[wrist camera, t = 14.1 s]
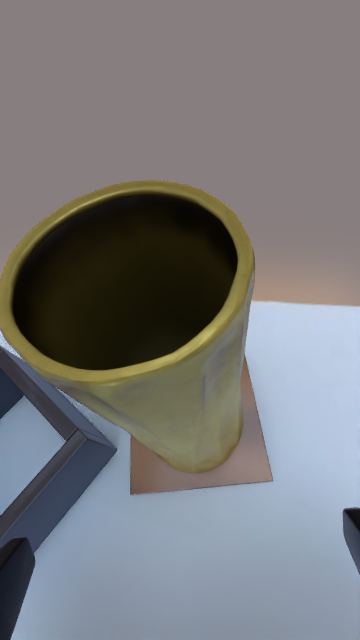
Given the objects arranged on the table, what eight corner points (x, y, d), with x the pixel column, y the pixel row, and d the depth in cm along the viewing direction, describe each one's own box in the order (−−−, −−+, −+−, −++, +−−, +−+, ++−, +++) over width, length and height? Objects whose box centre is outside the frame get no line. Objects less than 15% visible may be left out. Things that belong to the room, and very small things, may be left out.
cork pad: (272, 480, 16) (273, 480, 15) (132, 495, 16) (130, 495, 16) (243, 350, 20) (243, 348, 20) (132, 366, 21) (131, 363, 20)
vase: (226, 491, 15) (224, 489, 3) (129, 448, 17) (-99, 348, 5) (253, 387, 18) (307, 178, 6) (166, 360, 20) (74, 158, 8)
